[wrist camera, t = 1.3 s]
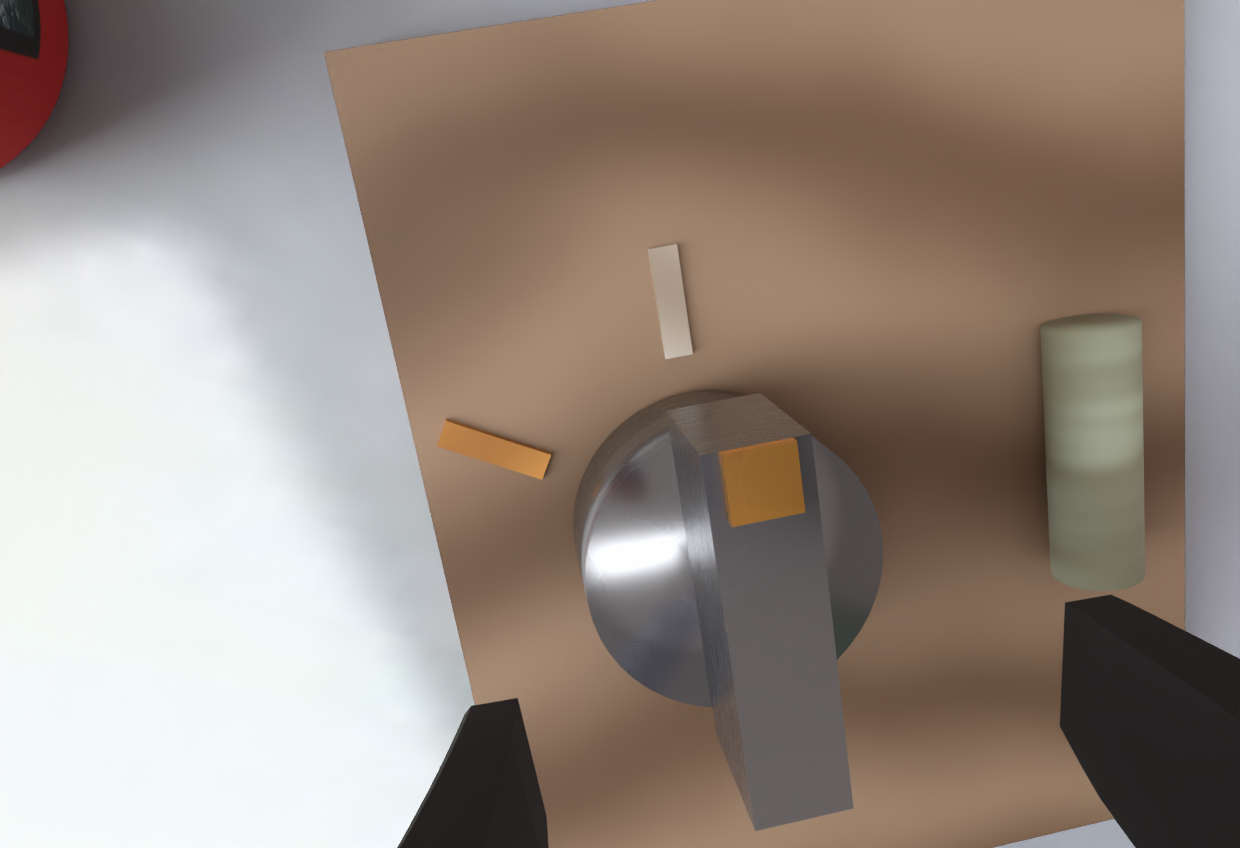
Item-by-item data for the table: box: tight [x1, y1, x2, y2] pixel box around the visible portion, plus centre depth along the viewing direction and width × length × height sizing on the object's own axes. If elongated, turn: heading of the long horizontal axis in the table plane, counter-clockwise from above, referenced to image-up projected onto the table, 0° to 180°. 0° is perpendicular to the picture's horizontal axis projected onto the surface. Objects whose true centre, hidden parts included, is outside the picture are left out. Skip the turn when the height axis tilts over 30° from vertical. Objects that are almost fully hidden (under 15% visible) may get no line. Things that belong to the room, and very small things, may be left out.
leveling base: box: [324, 0, 1185, 848], centre depth 22 cm, size 22×18×4 cm
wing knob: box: [573, 391, 883, 831], centre depth 18 cm, size 7×6×6 cm
